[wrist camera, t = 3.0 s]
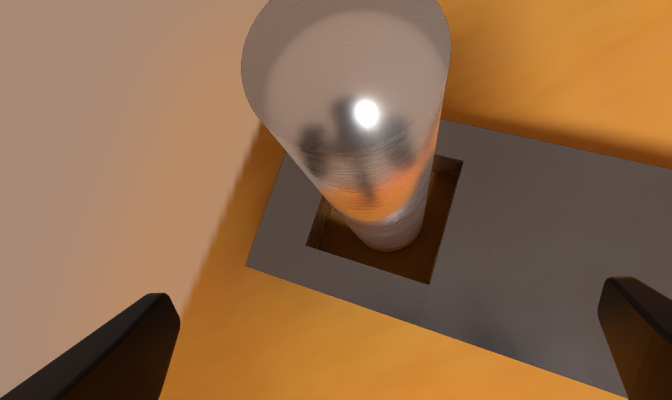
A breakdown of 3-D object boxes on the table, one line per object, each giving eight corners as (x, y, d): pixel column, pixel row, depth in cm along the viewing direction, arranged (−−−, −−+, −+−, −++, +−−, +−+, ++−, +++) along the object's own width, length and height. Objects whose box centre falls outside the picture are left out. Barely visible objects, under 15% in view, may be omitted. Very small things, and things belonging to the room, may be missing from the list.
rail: (263, 269, 21) (242, 265, 18) (319, 112, 22) (307, 87, 20) (1187, 587, 13) (1382, 660, 10) (1172, 310, 14) (1339, 313, 12)
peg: (394, 266, 20) (360, 195, 6) (337, 223, 21) (202, 81, 7) (438, 208, 20) (496, 19, 6) (379, 168, 21) (325, -66, 8)
